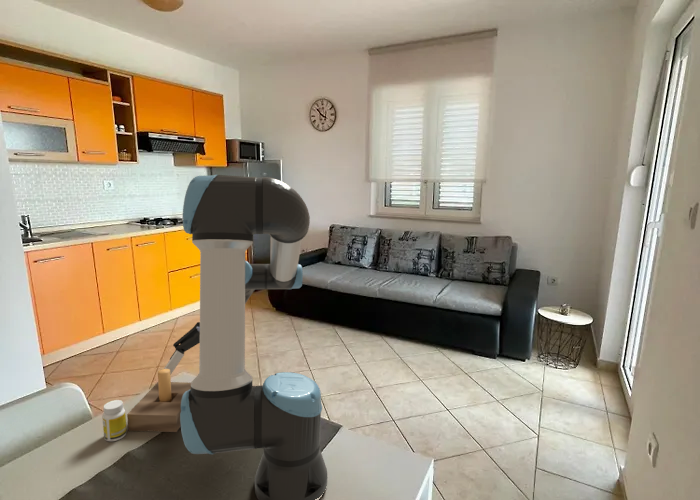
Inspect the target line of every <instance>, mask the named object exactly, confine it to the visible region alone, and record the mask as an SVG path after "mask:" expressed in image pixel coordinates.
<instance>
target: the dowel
mask: <svg viewBox="0 0 700 500" xmlns="http://www.w3.org/2000/svg"><path fill="white" fill-rule="evenodd" d="M171 375H172V374H171ZM171 375H170V369H164V368H163V369H160V370H157V382H158V386H159V402H172V398H171V382H172V380H171V379H172V378H171Z"/></svg>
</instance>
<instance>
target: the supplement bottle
mask: <svg viewBox="0 0 700 500" xmlns="http://www.w3.org/2000/svg"><path fill="white" fill-rule="evenodd" d="M126 416H127V414H126V410H125V408H124V402H123V401H122V400H121V399H120V400H119V399H115V400H111V401H108V402H106V403H104V405H103V413H102V428H103V438H104V441H107V442H116V441H119V440H121V439H123V438H124V437H125V436H126V435H127V430H128V427H127V418H126Z"/></svg>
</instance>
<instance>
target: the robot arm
mask: <svg viewBox="0 0 700 500" xmlns="http://www.w3.org/2000/svg"><path fill="white" fill-rule="evenodd" d="M310 219H311V217H310V213H309V209H308V206H307V204H306V202H305V201H304V199H303V198H302V196H301V195H300V193H298V192H297V190H295V188H293V187H292V186H290V185H289V184H288V183H286V182H284V181H282V180H281V179H276V178H274V177H269V176H268V177H267V176H266V177H264V176H261V177H258V176H243V175H242V176H241V175H228V174H227V175H226V174H225V175H224V174H214V175H213V174H212V175H196V176H194V177H193V178H192V179H191V180H190V182H189V184H188V185H187V188H186V191H185V196H184V200H183V206H182V227H183V231H184V232H185V233H186V234H189V235H191V240H192V241H191V242H192V244H193V245H194V246H196V248H197V249H198V250H199V253H200V254H199V255H200V259H199V260H200V265H199V267H200V269H199V270H200V272H199V273H200V275H199V276H200V277H199V278H200V279H199V283H200V284H199V287H200V288H199V321H198V322H196V323H195V324H194V326H193V327H192V328H191V329H190V330H189V331H187V332H186V333H185V334H183V336H181V337H179V339H178V340H177V341H175V342H174V343H173V347H174V348H175V349H174V352H173V353H172V355H171V357H170V358H169V361H168V362H167V363H166V365H165V366H164V368H163V369H170V375H172V374H173V373H174V371H175V369H176V368H177V366H178V365H179V363H180V362H181V360H182V359H183V358H184V356H185V352H187V351H189V350H190V349H192V348H193V347H195V346H197V345H198V344H199V357H198V358H199V364H198V365H199V366H198V369H199V373H198V374H197V375H196V377H194V378H193V379H192V380H191V382H190V383H191V389H190V390H188V391H186V392H185V393H184V394H183V396H182V400H181V413H180V423H181V426H180V429H181V430H180V431H181V436H182V441H183V444H184V447H185V449H187V451H188V452H189V453H190V454H193V455H203V454H204V455H205V454H206V455H207V454H209V455H215V454H219V453H229V452H235V451H236V452H237V451H238V452H239V451H247V450H254V449H255V450H257V449H263V452H262V456H261V459H260V461H259V464H258V467H257V469H256V472H255V475H254V476H255V477H254V493H255V496H256V499H257V500H315V499H317V498H319V497H320V496H321V495H322V494H323V492H324V491H325V489H326V490H327V488H326V486H327V487H328V469H327V465H326V463H325V459H324V457H323V453H322V451H321V425H322V424H321V422H322V421H321V420H322V419H321V418H322V416H321V414H322V410H323V405H322V392H321V389H320V387H319V385H318V383H316V381H315V380H313V379H312V378H310V377H308V376H307V375H305V374H302V373H297V372H292V371H289V372H288V371H285V372H284V371H282V372H277V373H274V374H270V375H269V376H268V377H266V378H265V380H264V382H263V383H262V385H253V376H252V375H251V374H250V373H249V372H248V371H247V370H246V304H247V302H248V301H249V299H250V297H251V296H252V295H253V293H254V292H255V290H292V289H300V288H301V287H302V286H303V279H304V278H303V276H304V275H303V266H302V265H301V264H299V261H300V256H301V255H300V253H301V248H302V242H303V240H304V238H305V237H306V236H307V234H308V232H309V228H310V222H311V221H310ZM263 234H264V235H269V236H270V261H269V262H270V263H249V262H248V260H246V251H247V250H248V249H249V248H251V246H252V245H253V244H254V235H263ZM325 492H326V491H325Z"/></svg>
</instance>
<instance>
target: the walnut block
mask: <svg viewBox="0 0 700 500" xmlns="http://www.w3.org/2000/svg"><path fill="white" fill-rule="evenodd" d="M190 389H191V382H187V381H185V382H184V381H183V382H182V381H171V398H172V402H159V386H158V381H157V382H156V383H155V384H154V385H153V386H152V388H151V389H150V390H148V392H147V393H145V395H144V396H143V397H142V398H141V399H140V400H139V401H138V402H137V403H136V405H134V406H133V408H132V409H131V410H129V412H128V413H127V414H126V416H127V418H126V419H127V430H128V432H132V431H133V432H165V433H167V432H168V433H169V432H170V433H177V432H178V430H179V429H181V423H180V413H181V400H182V396H183V394H184V393H185V392H186V391H188V390H190Z"/></svg>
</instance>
